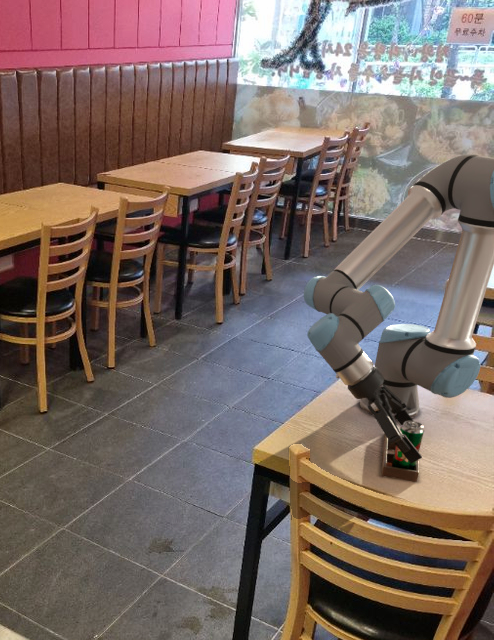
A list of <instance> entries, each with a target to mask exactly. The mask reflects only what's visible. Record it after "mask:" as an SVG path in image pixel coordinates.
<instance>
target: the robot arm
mask: <svg viewBox="0 0 494 640" xmlns="http://www.w3.org/2000/svg"><path fill="white" fill-rule="evenodd" d="M453 209H456V210H458V211H459V214H458V218H457V223H458V224H459V226H460V227H461V232H460V233H461V234H460V237H459V240H458V243H457V244H458V245H457V247H456V251H455V255H454V259H453V262H452V266H451V269H450V272H449V277H448V279H447V283H446V286H445V287H446V288H445V291H444V294H443V297H442V302H441V304H440V309H439V313H438V315H437V319H436V323H435V327H434V329H433V330H432V331H431V329H430V328H429V327H427V326H425V325H420V324H412V323H399V324H392V325H388V326H386V327H385V328H384V329H383V330H382V332H381V335H380V339H379V341H378V347H377V352H376V357H375V362H373V361H372V360H371V359H370V357H369V356H368V354H367V353H366V352H365V351H364V349H363V348H362V347H361V345H360V344H359V343H360V342H362V341H363V340H364V339H365V338H366V337H367V336H368V335H370V334H371V333H372V332H373V331H374V330H375V329H376V328H377V327H379V325H381V324H382V323H384V322H385V320H386V319H387V318H388V317H389V316H390V314H392V313H393V312H394V311H395V308H396V301H395V298H394V296H393V295H392V293H391V292H390V291H389V290H388V289H386V288H385V287H384V286H383V285H380V284H374V285H370V286H369V287H368V288H366V289H365V290H364V291H362V290H360V289H361V288H362V287H363V286H364V285H365V284H366V283H368V281H370V280H371V278H372V277H374V276H375V274H377V272H378V271H380V270H381V269H382V268H383V267H384V266H385V265H386V264H387V263H388V262H389V261H390V260H391V259H392V258H393V257H394V256H395V255H396V254H397V253H398V252H400V250H401V249H402V248H403V247H405V246H406V244H407V243H408V242H409V241H410V240H412V239H413V237H414V236H415V235H416V234H417V233H419V231H421V230H422V229H423V227H425V226H426V224H428V222H430V221H431V220H437V219H438V218H440V217H441V216H442V215H443V214H444V213H445V212H446V211H449V210H453ZM493 269H494V157H489V156H482V155H478V154H473V153H472V154H469V153H468V154H467V153H466V154H459V155H457V156H454V157H452V158H449V159H447V160H445V161H442V163H440V164H438V165H436V166H435V167H433V168H431V169H430V170H429V171H427V172H426V173H425V174H423V175H422V176H421V177H420V178H419V179H418V180H417V181H415V182H414V184H412V186H411V187H409V189H408V191H407V196H406V198H404V199H403V201H402V202H400V203H399V204H398V206H397V207H396V208H395V209H394V210H393V211H391V212H390V213H389V214H388V216H386V217H385V218H384V219H383V220H382V221H381V222H380V224H378V226H376V227H375V228H374V229H373V230H372V231H371V232H370V233H369V234H368V235H367V236H366V237H365V238H364V239H363V240H362V241H361V242H360V243H359V244H358V245H357V246H356V247H355V248H354V249H353V250H352V251H351V252H350V253H349V254H348V255H347V256H346V257H345V258H344V259H343V260H342V261H341V262H340V263H339V264H338V265H337V266H336V267H335V268H334V269H333V270H332V271H331V272H330V273H328V275H327V276H324V275H316V276H314V277H312V278H311V279H310V280H309V281H307V283H306V285H305V287H304V290H303V300H304V302H305V304H306V305H307V306H308V307H310V308H312V309H314V310H315V311H316V312H318V313H323V314H325V315H323V316H322V317H320V318H319V319H318V320H317V321H315V323H313V324H312V325H311V326H310V327H309V329H308V330H307V334H306V335H307V338H308V340H309V341H310V343H311V345H312V346H313V348H314V349H315V351H316V352H318V354H319V355H320V356H321V357H322V359H324V361H325V362H326V363H327V364H328V365H329V367H330V368H331V369H332V370H333V372H334V373H335V378H336V379H340V380H341V382H342V383H343V384H344V385H345V386H347V390H348V391H349V392H350V393H351V395H352V396H353V397H354V399H356V400H360V401H359V406H360V408H361V409H362V410H363V411H364V412H366V413H367V414H370V415H372V416H373V417H374V419H375V420H376V422H377V423H378V425H379V427H380V429H381V430H382V432H383V434H384V433H385V435H386V437H387V438H388V440H389V444H390V445H391V444H393V443H395V444H396V446H397V447H398V448H399V449H400V451H401V452H402V453H403V454H404V456H405V457H406V458H407V459H408V461H409V462H410V463H413V462H415V461H417V460H421V459H422V458H423V456H422V454H421V453H420V451H419V452H418V451H417V449H416V448H415V447H414V445H413V444H412V443H411V442H410V440H409V439H408V438H407V437H406V435H405V434H404V435H403V434H402V432H401V430H400V427H401V426H402V425H403V423H404V422H405V421H414V419H413V418H415V417H417V415H418V414H419V410H420V399H419V398H420V397H419V391H418V386H419V387H420V388H422V389H425V390H427V391H429V392H430V393H432V394H433V395H438V396H440V397H443V398H446V399H451V398H456V397H458V396H460V395H463V393H465V392H466V391H467V390H468V389H470V387H471V386H472V385H473V384H474V383H475V381H476V380H477V378H478V376H479V374H480V370H481V363H480V362H481V361H480V359H479V358H478V357H477V356H476V355H474V354H475V350H476V347H477V343H476V341H475V340H474V338H473V334H474V332H475V328H476V324H477V321H478V317H479V314H480V311H481V308H482V305H483V301H484V298H485V295H486V292H487V288H488V285H489V282H490V278H491V275H492V272H493ZM397 422H398V423H399V424H400V426H399V424H398V423H397ZM394 435H395V436H394ZM393 436H394V437H393Z"/></svg>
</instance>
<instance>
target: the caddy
mask: <svg viewBox="0 0 494 640" xmlns="http://www.w3.org/2000/svg"><path fill="white" fill-rule="evenodd" d="M394 436H395V435H394ZM394 436H393V437H394ZM382 443H383V444H382V458H381V459H382V460H381V477H385V478H386V477H387V478H391V479H398V480H403V481H410V482H414V483H415V482H418V477H419V474H420V464H419V463H420V461H419V460H420V459H419V460H417V461H416V465H415V469H414V470H408V469H402V468H396V467H391V466H392V461H393V457H394V453H395V452H390V450H391V451H395V449H396V444H395V443H393V444H391V445H390V444H389V440H388V438H387V437H386V435H385V433H384V432H383V441H382ZM388 450H389V451H388Z"/></svg>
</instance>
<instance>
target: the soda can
mask: <svg viewBox="0 0 494 640" xmlns="http://www.w3.org/2000/svg"><path fill="white" fill-rule="evenodd" d="M399 428H400V430H401V432H402V434H403V435H404V434H405V435H406V437H407V438H408V439H409V440H410V442H411V443H412V444H413V445H414V447H415V448H416V449H417V451H418V452H419V453H420V449H421V445H422V441H423V437H424V433H425V429H424V424H422V423H421V422H419V421H415V420H413V421H405V422H404V423H403V425H402V426H401V425H400V426H399ZM393 453H394V457H393V461H392V466H391V467H396V468H402V469H408V470H414V469H415V465H416V461H415V462H413V463H410V462H409V461H408V459H407V458H406V457H405V456H404V454H403V453H402V452H401V451H400V449H399V448H398V447H397V446H396V449H395V450H394V452H393Z"/></svg>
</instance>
